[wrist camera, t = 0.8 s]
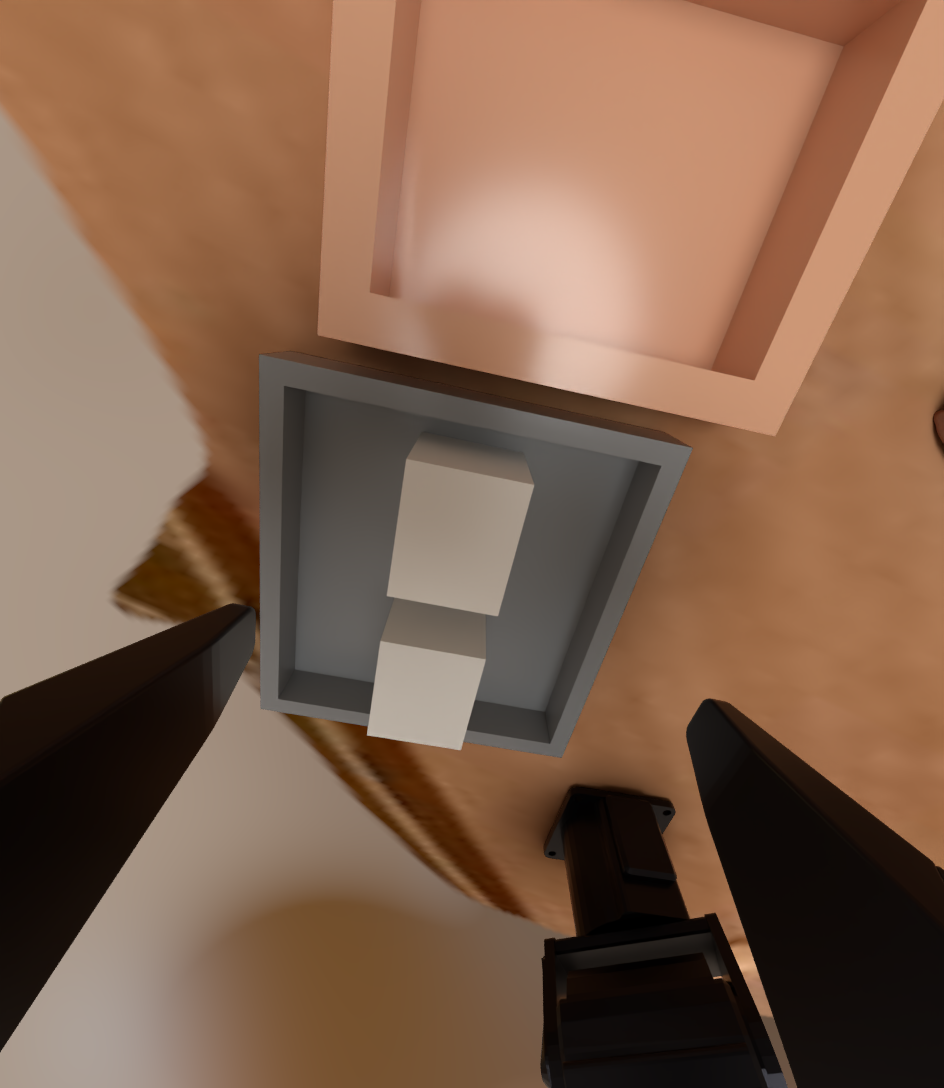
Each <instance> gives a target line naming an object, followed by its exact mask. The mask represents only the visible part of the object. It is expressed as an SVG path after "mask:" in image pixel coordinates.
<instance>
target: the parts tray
mask: <svg viewBox="0 0 944 1088" xmlns="http://www.w3.org/2000/svg"><path fill="white" fill-rule="evenodd" d="M422 432H425V433H430V434H435V435H440V436H444V437H449V438H454V439H459V440H464V441H468V442H473V443H478V444H483V445H487V446H492V447H497V448H502V449H507V450H511V451H516V452H521V453H524V456H525V459H526V462H527V465H528V468H529V471H530V474H531V477H532V480H533V483H534V488H533V492H532V495H531V499H530V502H529V506H528V510H527V513H526V517H525V520H524V524H523V528H522V531H521V535H520V538H519V542H518V546H517V549H516V553H515V557H514V560H513V564H512V567H511V571H510V575H509V578H508V582H507V585H506V589H505V593H504V596H503V600H502V603H501V607H500V611H499V614H498V616H493V615H487V614H485V616H486V661H485V665H484V668H483V672H482V676H481V679H480V683H479V686H478V690H477V694H476V697H475V701H474V704H473V708H472V712H471V715H470V719H469V722H468V726H467V730H466V733H465V737H464V740H463V742H468V743H474V744H480V745H486V746H492V747H498V748H504V749H510V750H517V751H523V752H529V753H535V754H541V755H547V756H553V757H560V758H562V756H563V754H564V751H565V749H566V746H567V744H568V742H569V739H570V737H571V735H572V732H573V730H574V728H575V725H576V723H577V720H578V718H579V716H580V713H581V711H582V709H583V706H584V704H585V702H586V699H587V697H588V695H589V692H590V690H591V687H592V685H593V683H594V680H595V678H596V676H597V673H598V671H599V669H600V666H601V664H602V661H603V659H604V657H605V654H606V652H607V650H608V647H609V645H610V643H611V640H612V638H613V636H614V633H615V631H616V628H617V626H618V624H619V621H620V619H621V617H622V614H623V612H624V610H625V607H626V605H627V602H628V600H629V598H630V595H631V593H632V591H633V588H634V586H635V584H636V581H637V579H638V576H639V574H640V572H641V569H642V567H643V565H644V562H645V560H646V558H647V555H648V553H649V551H650V548H651V546H652V543H653V541H654V539H655V536H656V534H657V532H658V529H659V527H660V525H661V522H662V520H663V517H664V515H665V513H666V510H667V508H668V506H669V503H670V501H671V499H672V496H673V494H674V492H675V489H676V487H677V484H678V482H679V480H680V477H681V475H682V473H683V470H684V468H685V466H686V463H687V461H688V458H689V456H690V454H691V451H692V449H693V448H692V447H690V446H688V445H687V444H685V443H683V442H681V441H679V440H678V439H676V438H674V437H672V436H670V435H669V434H667V433H665V432H661V431H656V430H651V429H647V428H642V427H638V426H633V425H629V424H624V423H619V422H615V421H610V420H606V419H601V418H596V417H592V416H587V415H583V414H578V413H573V412H569V411H564V410H560V409H555V408H550V407H546V406H541V405H537V404H532V403H527V402H523V401H518V400H514V399H509V398H504V397H500V396H495V395H491V394H486V393H481V392H477V391H472V390H468V389H463V388H458V387H454V386H449V385H445V384H440V383H435V382H431V381H426V380H422V379H417V378H412V377H408V376H403V375H399V374H394V373H389V372H385V371H380V370H376V369H371V368H366V367H362V366H357V365H353V364H348V363H344V362H339V361H334V360H330V359H325V358H321V357H316V356H311V355H307V354H302V353H298V352H293V351H286V352H277V353H267V354H259V463H260V695H261V709H265V710H271V711H277V712H283V713H290V714H296V715H302V716H308V717H314V718H320V719H326V720H333V721H339V722H345V723H351V724H357V725H363V726H368V724H369V717H370V710H371V703H372V696H373V689H374V682H375V675H376V668H377V661H378V654H379V647H380V641H381V638H382V635H383V632H384V628H385V625H386V622H387V619H388V616H389V613H390V610H391V607H392V604H393V601H394V598H395V597H389V596H387V591H388V584H389V577H390V570H391V563H392V556H393V549H394V542H395V535H396V528H397V521H398V514H399V506H400V499H401V492H402V485H403V478H404V471H405V464H406V458H407V457H408V455H409V453H410V452H411V450H412V448H413V447H414V445H415V443H416V442H417V440H418V438H419V437H420V435H421V433H422Z"/></svg>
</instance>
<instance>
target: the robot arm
mask: <svg viewBox="0 0 944 1088" xmlns="http://www.w3.org/2000/svg"><path fill="white" fill-rule="evenodd" d="M255 623H256V613H255V610H254V609H253V608H252V607H250V606H245V605H240V604H234V603H232V604H228V605H226V606H223V607H221V608H218V609H216V610H213V611H211V612H208V613H206V614H204V615H201V616H199V617H196V618H194V619H191V620H189V621H187V622H184V623H182V624H179V625H177V626H174V627H172V628H170V629H167V630H165V631H162V632H160V633H158V634H155V635H153V636H150V637H148V638H145V639H143V640H140V641H138V642H136V643H133V644H131V645H128V646H126V647H124V648H121V649H119V650H116V651H114V652H112V653H109V654H106V655H104V656H102V657H99V658H97V659H94V660H92V661H89V662H87V663H85V664H82V665H80V666H77V667H75V668H73V669H70V670H68V671H65V672H63V673H61V674H58V675H55V676H53V677H51V678H48V679H46V680H43V681H41V682H38V683H36V684H34V685H31V686H29V687H26V688H24V689H21V690H19V691H17V692H14V693H12V694H9V695H7V696H5V697H3V698H2V699H1V701H0V1052H1V1050H2V1049H3V1047H4V1046H5V1044H6V1043H7V1041H8V1040H9V1038H10V1037H11V1035H12V1034H13V1032H14V1031H15V1029H16V1027H17V1026H18V1024H19V1023H20V1021H21V1020H22V1018H23V1017H24V1015H25V1014H26V1012H27V1011H28V1009H29V1008H30V1006H31V1005H32V1003H33V1002H34V1000H35V999H36V997H37V996H38V994H39V993H40V991H41V990H42V988H43V987H44V985H45V984H46V982H47V980H48V979H49V977H50V976H51V974H52V973H53V971H54V970H55V968H56V967H57V965H58V963H59V962H60V961H61V959H62V958H63V956H64V954H65V953H66V951H67V950H68V949H69V947H70V945H71V944H72V943H73V941H74V940H75V938H76V936H77V935H78V933H79V932H80V930H81V929H82V927H83V926H84V924H85V923H86V921H87V920H88V918H89V917H90V915H91V914H92V912H93V911H94V909H95V908H96V906H97V905H98V903H99V902H100V900H101V898H102V897H103V896H104V894H105V893H106V891H107V889H108V888H109V886H110V885H111V883H112V882H113V880H114V879H115V877H116V876H117V874H118V873H119V871H120V870H121V868H122V867H123V865H124V864H125V862H126V861H127V859H128V858H129V856H130V855H131V853H132V851H133V850H134V849H135V847H136V845H137V844H138V842H139V841H140V839H141V838H142V836H143V835H144V833H145V832H146V830H147V829H148V827H149V826H150V824H151V823H152V821H153V820H154V818H155V817H156V815H157V813H158V812H159V810H160V809H161V807H162V806H163V805H164V803H165V801H166V800H167V798H168V797H169V795H170V794H171V792H172V791H173V789H174V788H175V786H176V785H177V783H178V781H179V780H180V779H181V777H182V776H183V774H184V773H185V771H186V770H187V768H188V767H189V765H190V763H191V762H192V761H193V759H194V757H195V756H196V754H197V753H198V751H199V750H200V748H201V747H202V745H203V743H204V742H205V741H206V739H207V737H208V736H209V734H210V733H211V731H212V730H213V728H214V726H215V724H216V722H217V721H218V719H219V717H220V715H221V713H222V711H223V709H224V707H225V705H226V704H227V702H228V700H229V698H230V696H231V694H232V692H233V690H234V688H235V686H236V684H237V682H238V680H239V678H240V676H241V674H242V672H243V670H244V668H245V666H246V665H247V663H248V661H249V659H250V657H251V655H252V652H253V649H254V645H255ZM686 738H687V743H688V747H689V751H690V755H691V759H692V764H693V768H694V772H695V776H696V780H697V784H698V789H699V793H700V797H701V801H702V805H703V809H704V812H705V816H706V819H707V822H708V826H709V829H710V832H711V835H712V838H713V841H714V843H715V846H716V849H717V852H718V855H719V858H720V861H721V864H722V867H723V870H724V873H725V876H726V879H727V882H728V885H729V888H730V891H731V894H732V896H733V899H734V902H735V905H736V908H737V911H738V914H739V917H740V920H741V923H742V926H743V929H744V932H745V935H746V938H747V941H748V944H749V947H750V949H751V952H752V955H753V958H754V961H755V964H756V967H757V970H758V973H759V976H760V979H761V982H762V985H763V988H764V991H765V994H766V997H767V1000H768V1002H769V1005H770V1008H771V1011H772V1014H773V1017H774V1020H775V1023H776V1026H777V1029H778V1032H779V1035H780V1038H781V1040H782V1044H783V1047H784V1050H785V1052H786V1055H787V1058H788V1061H789V1064H790V1067H791V1070H792V1073H793V1076H794V1079H795V1082H796V1085H797V1088H944V870H943V869H942V868H941V867H939V866H935V864H934V863H933V861H931V860H930V859H929V858H928V857H926V856H925V855H924V854H922V853H921V852H920V851H919V850H917V849H916V848H915V847H913V846H912V845H911V844H910V843H908V842H907V841H906V840H904V839H903V838H902V837H901V836H899V835H898V834H897V833H895V832H894V831H893V830H892V829H890V828H889V827H888V826H886V825H885V824H884V823H883V822H881V821H880V820H879V819H877V818H876V817H875V816H874V815H872V814H871V813H870V812H868V811H867V810H866V809H865V808H863V807H862V806H861V805H860V804H858V803H857V802H856V801H854V800H853V799H852V798H851V797H849V796H848V795H847V794H845V793H844V792H843V791H842V790H840V789H839V788H838V787H836V786H835V785H834V784H833V783H831V782H830V781H829V780H827V779H826V778H825V777H824V776H822V775H821V774H820V773H818V772H817V771H816V770H815V769H813V768H812V767H811V766H809V765H808V764H807V763H806V762H804V761H803V760H802V759H800V758H799V757H798V756H797V755H795V754H794V753H793V752H791V751H790V750H789V749H788V748H786V747H785V746H784V745H782V744H781V743H780V742H779V741H777V740H776V739H775V738H773V737H772V736H771V735H770V734H768V733H767V732H766V731H764V730H763V729H762V728H761V727H759V726H758V725H757V724H755V723H754V722H753V721H752V720H750V719H749V718H748V717H746V716H745V715H744V714H743V713H741V712H740V711H739V710H737V709H736V708H735V707H734V706H732V705H731V704H730V703H728V702H725V701H720V700H715V699H706V700H704V701H703V702H702V703H701V705H700V706H699V708H698V710H697V711H696V713H695V715H694V716H693V718H692V720H691V721H690V723H689V725H688V727H687V731H686ZM674 815H675V809H674V806H673V804H672V803H671V802H669V801H663V800H657V799H651V798H645V797H638V796H632V795H626V794H619V793H613V792H607V791H600V790H594V789H588V788H582V787H574V788H572V789H570V790H569V792H568V794H567V796H566V798H565V801H564V803H563V805H562V807H561V809H560V812H559V814H558V816H557V818H556V820H555V823H554V825H553V827H552V829H551V831H550V834H549V836H548V838H547V840H546V842H545V845H544V854H545V856H546V857H548V858H553V859H560V860H565V865H566V871H567V878H568V884H569V891H570V897H571V904H572V910H573V917H574V923H575V929H576V936H577V937H570V938H564V939H557V940H556V939H555V938H549V939H545V940H544V947H545V948H544V949H545V956H544V957H543V958H542V969H543V1014H544V1025H543V1037H542V1050H541V1075H542V1079H543V1082H544V1083H545V1085H546V1086H547V1087H548V1088H788V1087H787V1084H786V1081H785V1079H784V1076H783V1073H782V1071H781V1068H780V1065H779V1062H778V1060H777V1057H776V1054H775V1052H774V1049H773V1047H772V1044H771V1041H770V1039H769V1036H768V1034H767V1031H766V1029H765V1026H764V1024H763V1022H762V1019H761V1017H760V1014H759V1012H758V1010H757V1007H756V1005H755V1003H754V1000H753V998H752V996H751V993H750V991H749V989H748V987H747V984H746V982H745V980H744V977H743V975H742V973H741V970H740V968H739V966H738V963H737V961H736V959H735V957H734V954H733V952H732V950H731V947H730V945H729V943H728V940H727V938H726V936H725V934H724V931H723V929H722V927H721V924H720V922H719V920H718V917H717V915H716V913H710V914H704V915H705V917H700V918H694V919H690V917H689V914H688V911H687V908H686V906H685V903H684V900H683V897H682V894H681V892H680V889H679V886H678V883H677V880H676V879H677V875H676V872H675V869H674V867H673V864H672V861H671V858H670V855H669V853H668V850H667V847H666V844H665V841H664V838H663V836H662V834H663V832H664V831H665V829H666V827H667V826H668V824H669V823H670V821H671V820H672V818H673V816H674ZM717 976H722V978H719V979H713V977H717Z"/></svg>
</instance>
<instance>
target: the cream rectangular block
mask: <svg viewBox="0 0 944 1088" xmlns="http://www.w3.org/2000/svg"><path fill="white" fill-rule="evenodd" d="M533 488H534V483H533V480H532V477H531V474H530V471H529V468H528V465H527V462H526V459H525V456H524V453H521V452H516V451H511V450H507V449H502V448H497V447H492V446H487V445H483V444H478V443H473V442H468V441H464V440H459V439H454V438H449V437H444V436H440V435H435V434H430V433H425V432H422V433H421V435H420V437H419V438H418V440H417V442H416V443H415V445H414V447H413V448H412V450H411V452H410V453H409V455H408V457H407V458H406V464H405V471H404V478H403V485H402V492H401V499H400V506H399V514H398V521H397V528H396V535H395V542H394V549H393V556H392V563H391V570H390V577H389V584H388V591H387V596H389V597H395V598H400V599H406V600H411V601H417V602H422V603H427V604H433V605H438V606H444V607H449V608H455V609H460V610H466V611H471V612H477V613H482V614H487V615H493V616H498V614H499V611H500V607H501V603H502V600H503V596H504V593H505V589H506V585H507V582H508V578H509V575H510V571H511V567H512V564H513V560H514V557H515V553H516V549H517V546H518V542H519V538H520V535H521V531H522V528H523V524H524V520H525V517H526V513H527V510H528V506H529V502H530V499H531V495H532V492H533Z"/></svg>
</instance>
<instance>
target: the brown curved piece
mask: <svg viewBox="0 0 944 1088" xmlns="http://www.w3.org/2000/svg"><path fill="white" fill-rule="evenodd" d="M934 422H935V425H936V429H937V433H938V435H939V437H940V438H941V440H942V442H943V444H944V409H943V410H939V411H937V412H936V413H935V414H934Z"/></svg>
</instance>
